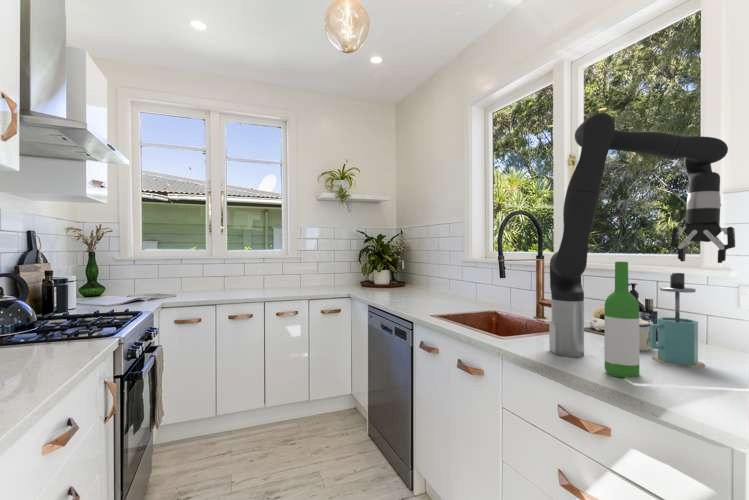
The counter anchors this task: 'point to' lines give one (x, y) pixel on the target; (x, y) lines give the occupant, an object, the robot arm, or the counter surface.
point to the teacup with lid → (643, 334)
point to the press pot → (676, 341)
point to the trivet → (679, 365)
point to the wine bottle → (621, 328)
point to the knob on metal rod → (677, 291)
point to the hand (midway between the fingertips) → (700, 262)
